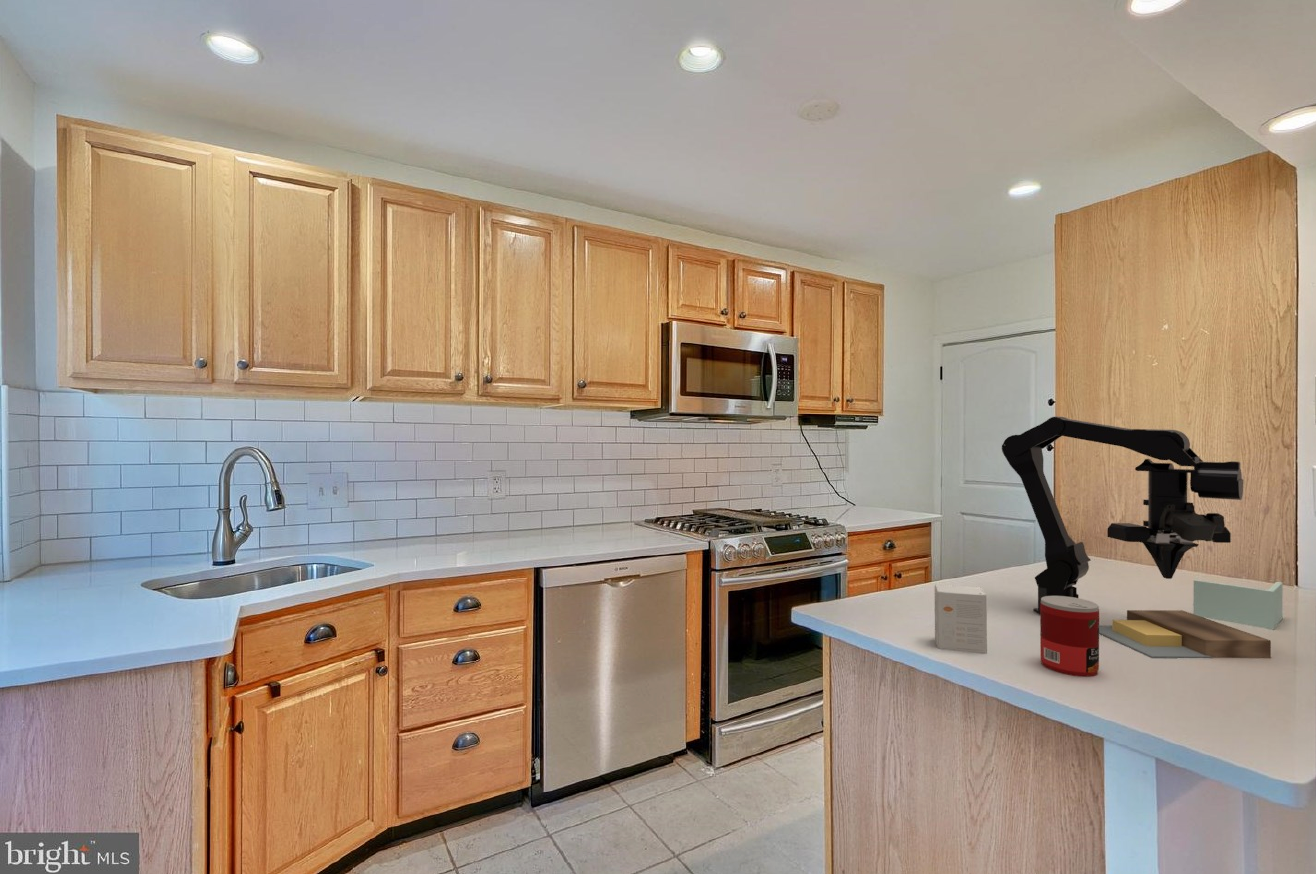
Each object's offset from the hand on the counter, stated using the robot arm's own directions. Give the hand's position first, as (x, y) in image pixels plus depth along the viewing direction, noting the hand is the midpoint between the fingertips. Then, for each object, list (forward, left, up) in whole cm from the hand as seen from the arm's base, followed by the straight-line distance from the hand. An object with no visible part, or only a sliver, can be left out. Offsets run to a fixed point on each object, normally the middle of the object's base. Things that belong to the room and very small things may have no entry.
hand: (1167, 578), depth 117 cm
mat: (-7, -3, -11) cm, 13 cm away
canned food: (-29, -16, -11) cm, 35 cm away
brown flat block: (+3, -2, -11) cm, 12 cm away
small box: (-42, -6, -11) cm, 44 cm away
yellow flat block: (-6, -2, -11) cm, 12 cm away
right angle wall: (+25, +13, -11) cm, 30 cm away
